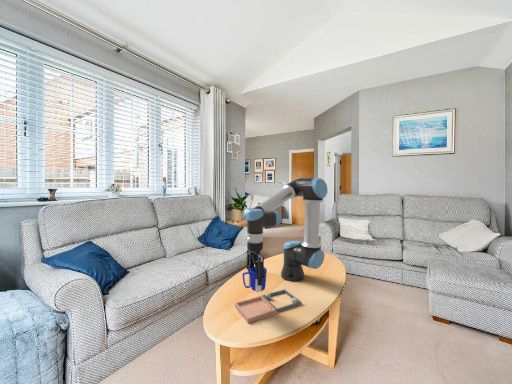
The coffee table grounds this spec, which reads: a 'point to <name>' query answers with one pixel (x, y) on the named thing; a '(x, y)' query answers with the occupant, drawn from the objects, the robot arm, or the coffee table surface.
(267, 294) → the pebble
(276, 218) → the robot arm
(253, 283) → the mug
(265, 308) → the terracotta dish
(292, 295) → the slate bin
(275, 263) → the coffee table surface
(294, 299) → the pebble
